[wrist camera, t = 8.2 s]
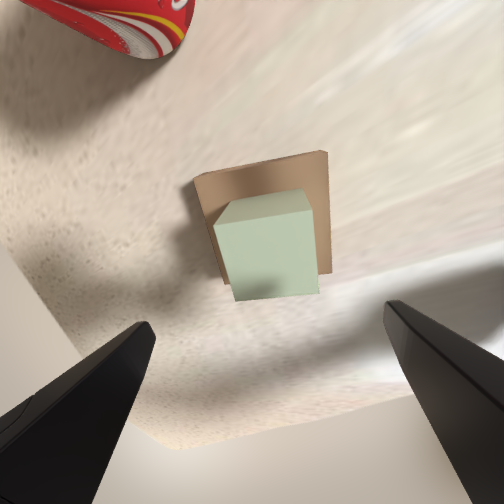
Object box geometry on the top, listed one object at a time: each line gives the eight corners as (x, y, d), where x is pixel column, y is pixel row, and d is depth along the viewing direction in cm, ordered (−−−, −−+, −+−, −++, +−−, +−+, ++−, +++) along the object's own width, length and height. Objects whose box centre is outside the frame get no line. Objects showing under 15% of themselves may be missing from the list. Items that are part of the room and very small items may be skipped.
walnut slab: (319, 149, 17) (327, 152, 14) (324, 255, 21) (332, 273, 18) (205, 172, 18) (192, 178, 15) (230, 266, 22) (224, 284, 19)
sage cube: (302, 187, 15) (312, 209, 11) (308, 252, 17) (319, 293, 13) (231, 200, 16) (213, 225, 12) (245, 261, 18) (235, 301, 14)
